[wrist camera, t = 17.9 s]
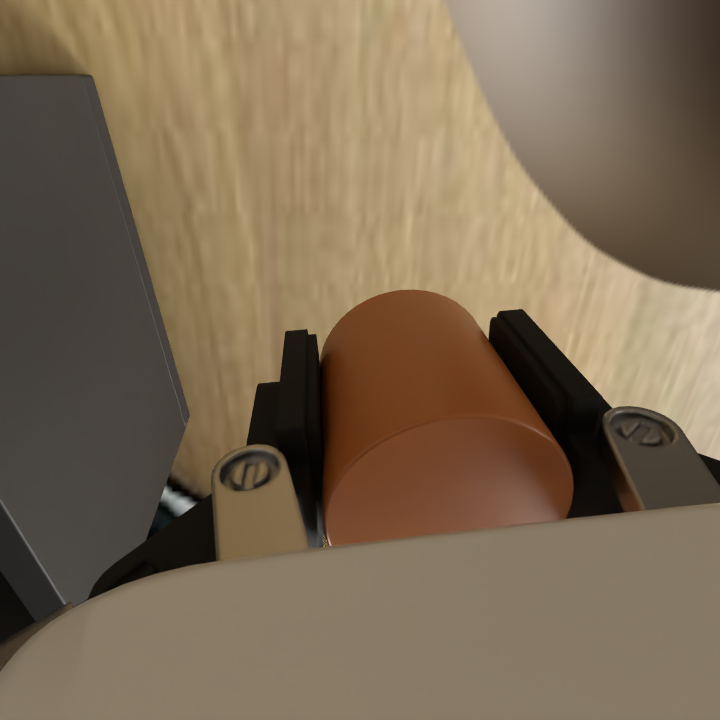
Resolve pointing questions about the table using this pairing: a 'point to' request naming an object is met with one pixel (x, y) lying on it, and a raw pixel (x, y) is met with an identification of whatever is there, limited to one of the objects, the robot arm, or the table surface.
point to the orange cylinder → (428, 427)
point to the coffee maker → (73, 355)
